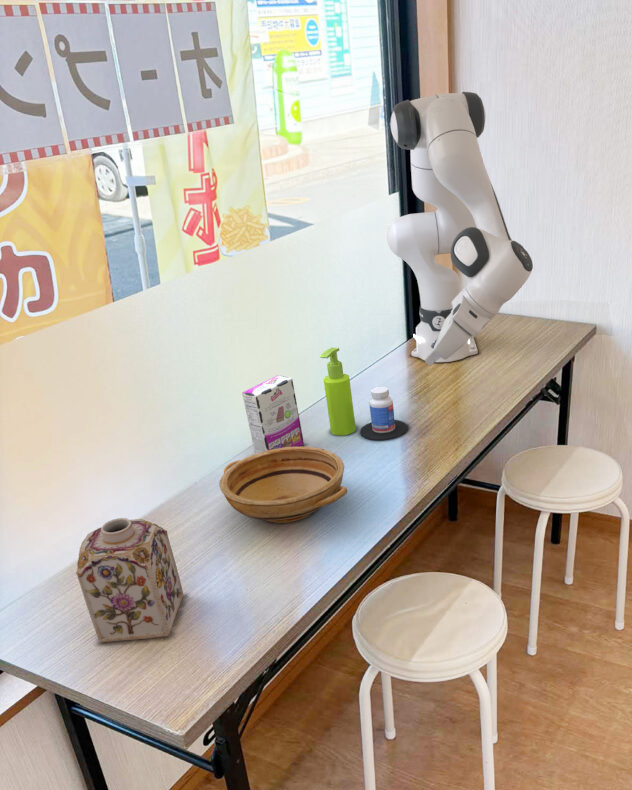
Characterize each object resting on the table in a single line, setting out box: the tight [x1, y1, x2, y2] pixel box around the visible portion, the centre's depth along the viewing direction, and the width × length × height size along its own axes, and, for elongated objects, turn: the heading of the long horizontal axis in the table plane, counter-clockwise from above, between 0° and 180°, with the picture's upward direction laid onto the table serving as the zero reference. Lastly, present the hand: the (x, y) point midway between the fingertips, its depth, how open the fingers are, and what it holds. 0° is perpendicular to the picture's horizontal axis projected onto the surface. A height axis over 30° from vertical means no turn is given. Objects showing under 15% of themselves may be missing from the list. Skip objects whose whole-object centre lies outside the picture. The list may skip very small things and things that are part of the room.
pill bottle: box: [368, 386, 396, 433], centre depth 196 cm, size 6×5×10 cm
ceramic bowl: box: [219, 446, 348, 524], centre depth 167 cm, size 30×24×8 cm
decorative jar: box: [75, 517, 184, 644], centre depth 136 cm, size 12×12×18 cm
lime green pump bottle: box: [319, 346, 357, 437], centre depth 195 cm, size 6×7×20 cm
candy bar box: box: [241, 375, 305, 454], centre depth 189 cm, size 11×5×16 cm, turn 143°
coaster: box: [359, 419, 408, 442], centre depth 198 cm, size 11×11×1 cm
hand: (430, 355), depth 188 cm, fingers open, 8 cm apart
